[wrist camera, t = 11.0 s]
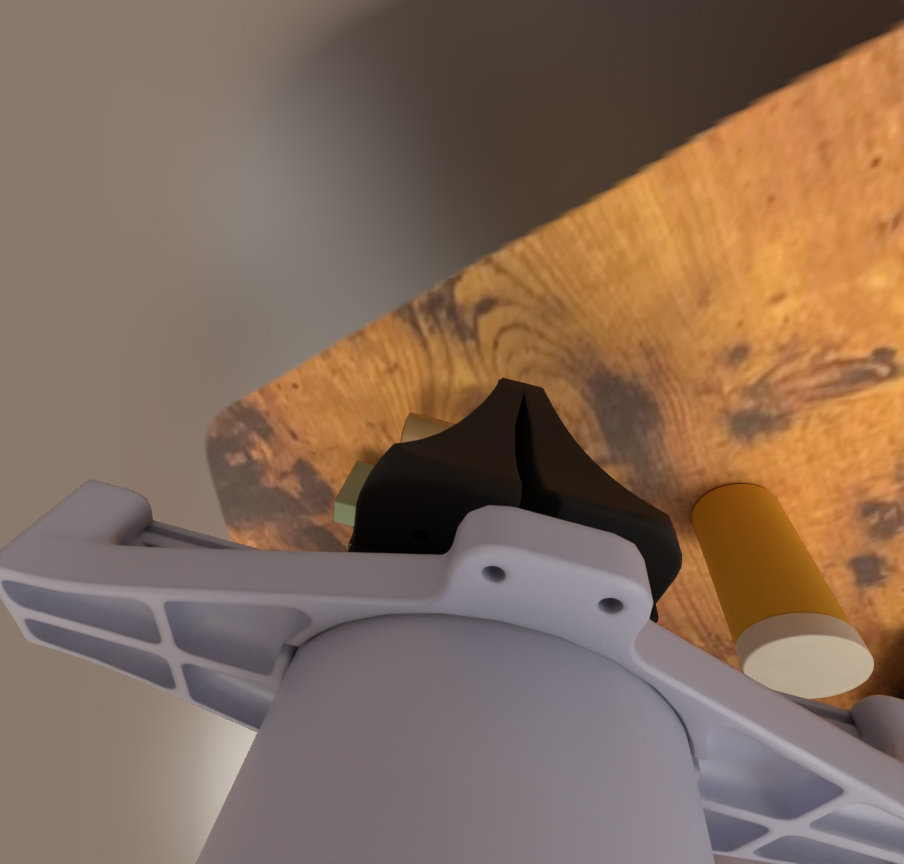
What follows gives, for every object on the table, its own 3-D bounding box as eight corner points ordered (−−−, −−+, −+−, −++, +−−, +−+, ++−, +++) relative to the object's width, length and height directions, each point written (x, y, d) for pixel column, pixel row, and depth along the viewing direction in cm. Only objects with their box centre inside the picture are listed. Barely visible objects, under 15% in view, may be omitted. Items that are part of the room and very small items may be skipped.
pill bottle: (797, 517, 20) (897, 680, 14) (719, 552, 22) (780, 710, 16) (750, 468, 19) (836, 620, 13) (673, 509, 21) (719, 659, 15)
